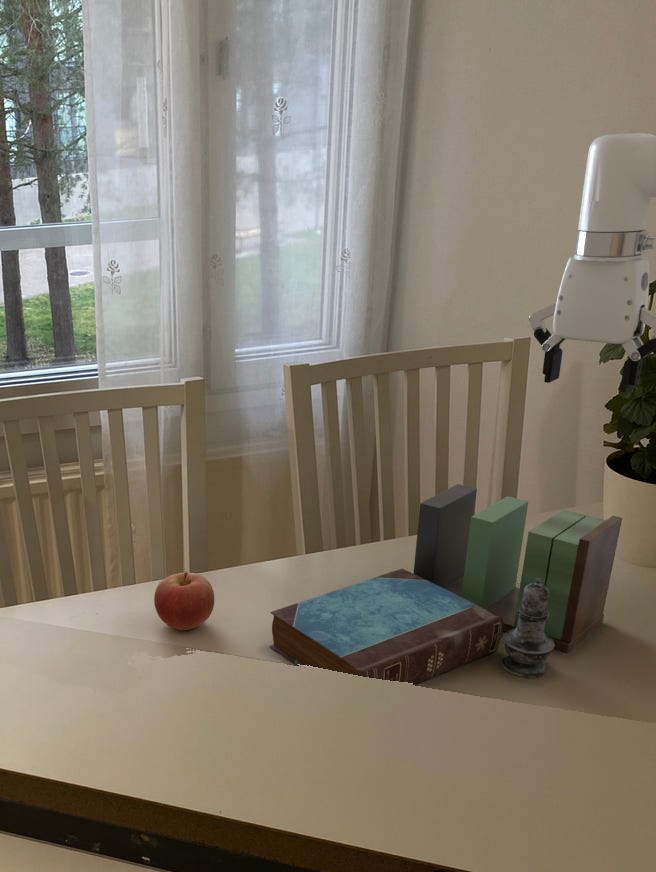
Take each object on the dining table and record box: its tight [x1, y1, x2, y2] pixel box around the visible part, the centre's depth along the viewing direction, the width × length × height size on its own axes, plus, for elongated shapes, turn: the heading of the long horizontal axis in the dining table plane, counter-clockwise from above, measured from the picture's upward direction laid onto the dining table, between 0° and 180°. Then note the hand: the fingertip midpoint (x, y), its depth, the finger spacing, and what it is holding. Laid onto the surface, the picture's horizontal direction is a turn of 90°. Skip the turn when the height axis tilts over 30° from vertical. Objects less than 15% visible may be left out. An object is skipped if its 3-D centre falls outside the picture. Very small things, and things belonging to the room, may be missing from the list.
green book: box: [461, 496, 529, 610], centre depth 122 cm, size 10×3×13 cm, turn 136°
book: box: [269, 568, 503, 685], centre depth 114 cm, size 23×18×5 cm
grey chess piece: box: [500, 577, 554, 679], centre depth 108 cm, size 6×6×12 cm
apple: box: [153, 571, 215, 631], centre depth 121 cm, size 8×8×8 cm
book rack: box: [413, 483, 623, 654], centre depth 121 cm, size 11×24×15 cm, turn 46°
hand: (588, 385), depth 118 cm, fingers open, 9 cm apart
